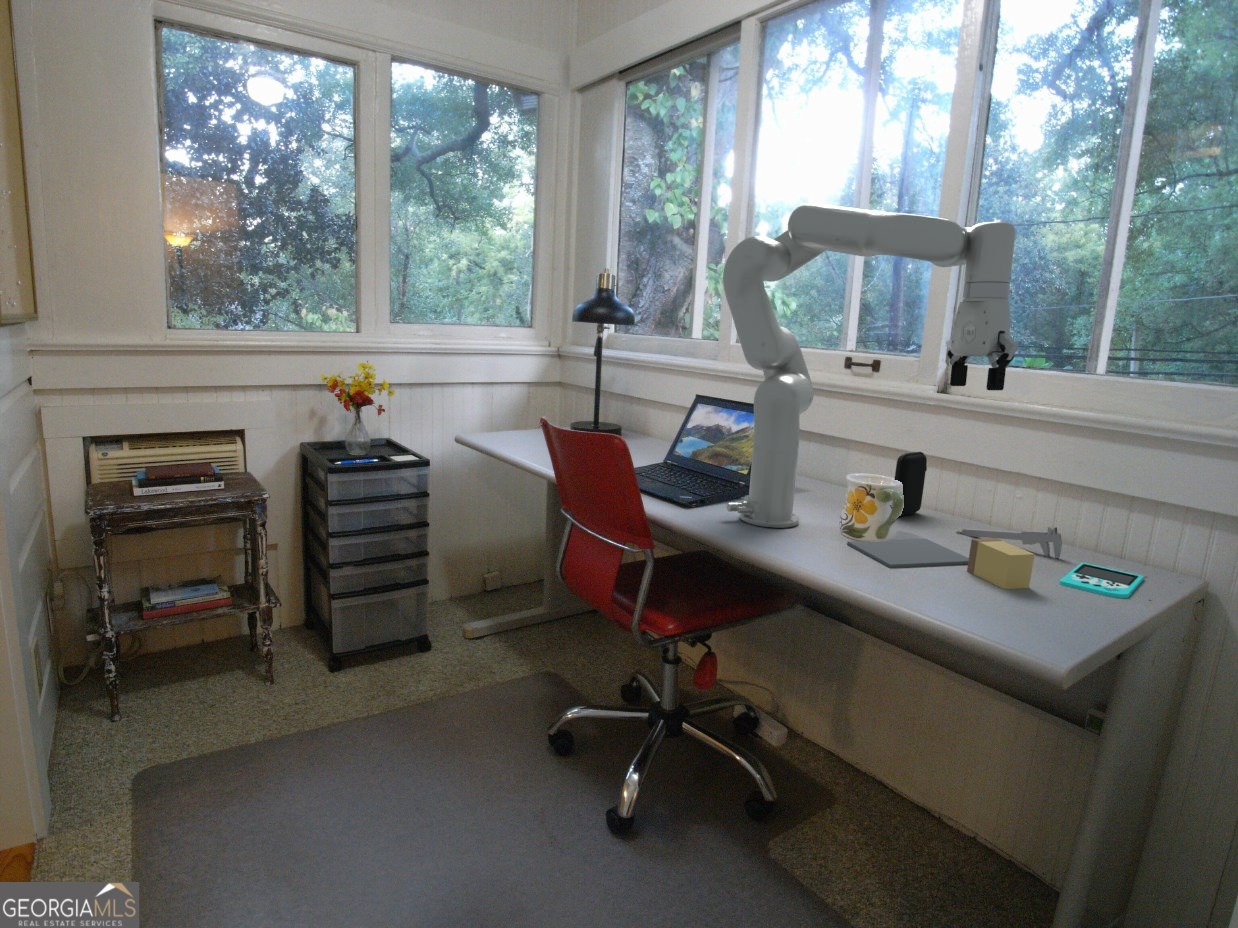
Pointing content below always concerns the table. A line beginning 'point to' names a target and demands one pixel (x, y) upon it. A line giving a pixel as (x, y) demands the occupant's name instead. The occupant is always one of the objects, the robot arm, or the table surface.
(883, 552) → the desk mat
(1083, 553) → the table surface
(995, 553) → the card box
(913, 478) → the carrying case or bag
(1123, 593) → the handheld game console
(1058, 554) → the caliper
